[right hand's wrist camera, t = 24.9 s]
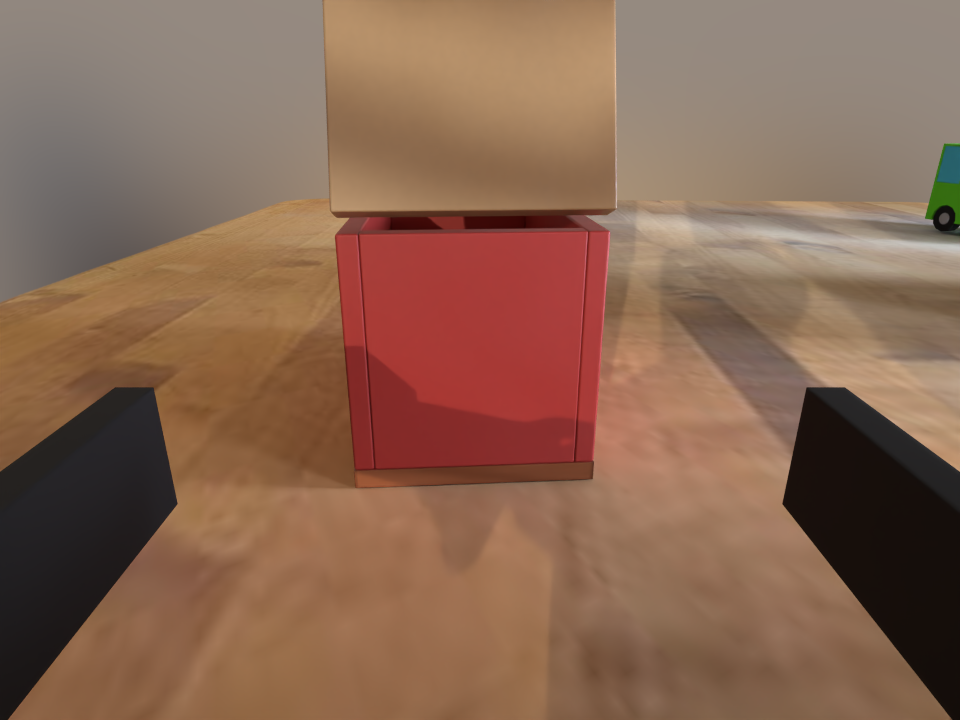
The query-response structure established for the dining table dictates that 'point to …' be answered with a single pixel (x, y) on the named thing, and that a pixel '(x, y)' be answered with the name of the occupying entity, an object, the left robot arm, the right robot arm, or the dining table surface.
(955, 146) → the toy car
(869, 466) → the right robot arm
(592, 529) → the dining table surface
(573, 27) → the lid
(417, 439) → the chest
